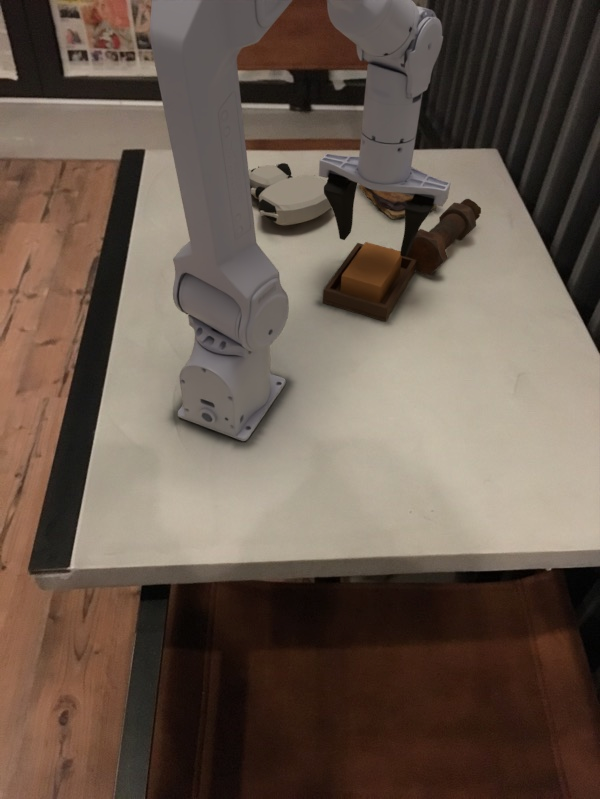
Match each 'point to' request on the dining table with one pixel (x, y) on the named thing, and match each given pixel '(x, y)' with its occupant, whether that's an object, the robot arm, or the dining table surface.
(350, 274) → the orange block
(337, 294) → the frame
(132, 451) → the dining table surface
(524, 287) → the dining table surface
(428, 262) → the bolt
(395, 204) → the brown sandwich
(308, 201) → the robot toy
